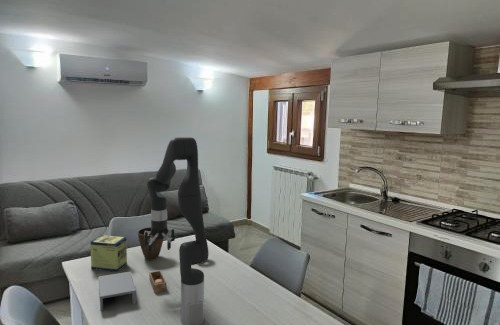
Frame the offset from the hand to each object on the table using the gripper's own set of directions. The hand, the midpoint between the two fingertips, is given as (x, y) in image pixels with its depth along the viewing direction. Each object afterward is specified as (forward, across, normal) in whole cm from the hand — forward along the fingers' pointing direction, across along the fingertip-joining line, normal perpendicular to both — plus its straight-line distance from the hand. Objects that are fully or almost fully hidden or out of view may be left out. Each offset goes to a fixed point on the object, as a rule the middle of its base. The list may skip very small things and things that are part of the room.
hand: (159, 250), depth 170 cm
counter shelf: (+17, -20, -4) cm, 27 cm away
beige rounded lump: (+17, -1, -4) cm, 18 cm away
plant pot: (+17, +1, +35) cm, 39 cm away
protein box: (+18, -22, +31) cm, 42 cm away
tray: (+17, -1, -1) cm, 17 cm away
